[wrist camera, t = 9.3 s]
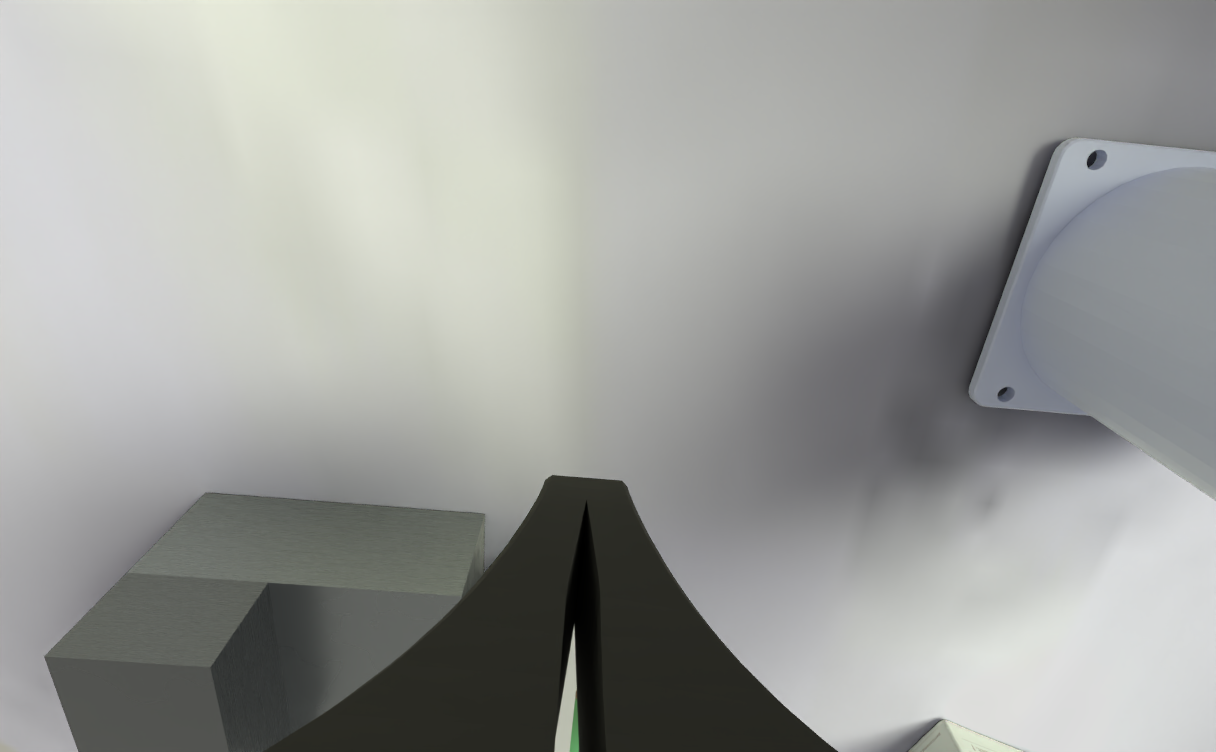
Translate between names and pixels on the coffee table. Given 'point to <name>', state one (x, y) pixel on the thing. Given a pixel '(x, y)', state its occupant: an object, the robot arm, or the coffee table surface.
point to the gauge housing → (258, 621)
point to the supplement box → (957, 740)
